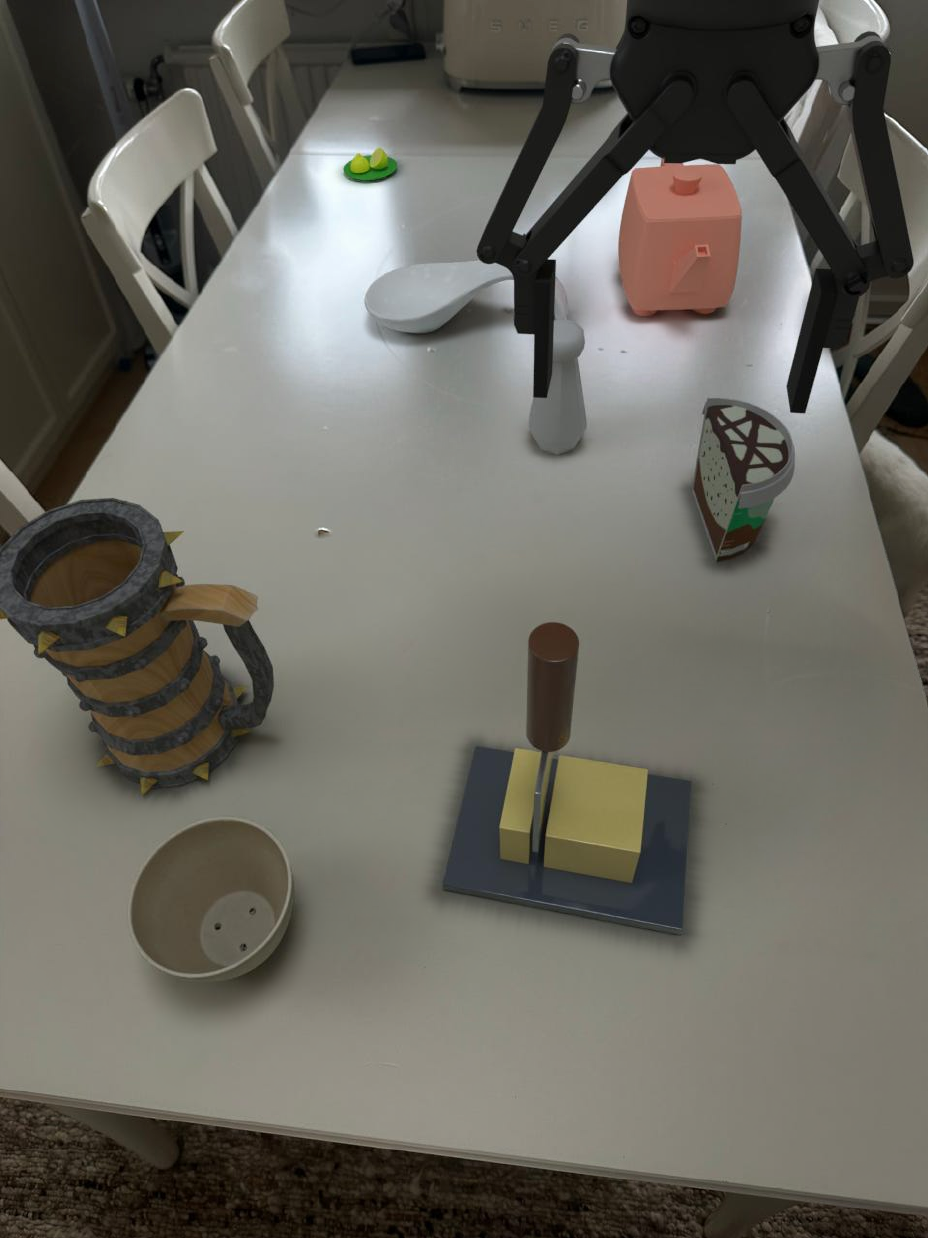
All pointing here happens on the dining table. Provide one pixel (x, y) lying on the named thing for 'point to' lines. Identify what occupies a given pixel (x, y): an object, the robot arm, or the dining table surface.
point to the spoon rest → (437, 293)
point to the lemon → (370, 166)
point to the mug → (134, 638)
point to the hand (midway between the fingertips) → (666, 392)
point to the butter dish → (563, 887)
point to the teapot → (679, 238)
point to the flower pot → (212, 900)
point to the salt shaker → (561, 394)
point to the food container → (739, 472)
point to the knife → (549, 703)
